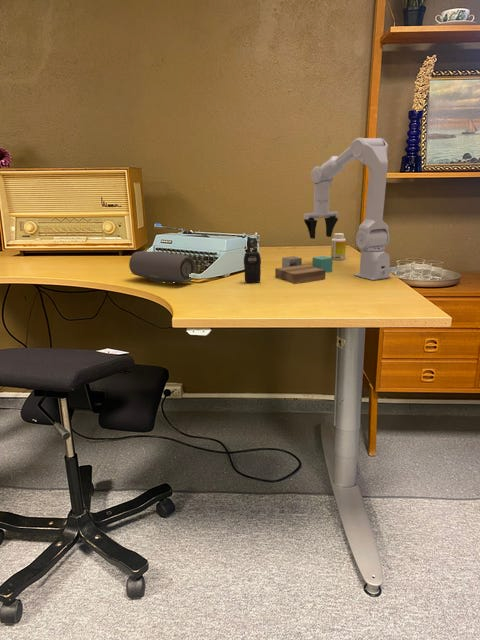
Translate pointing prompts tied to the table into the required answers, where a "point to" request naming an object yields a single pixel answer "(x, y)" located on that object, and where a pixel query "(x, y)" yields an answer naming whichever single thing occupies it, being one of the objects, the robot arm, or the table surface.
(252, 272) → the two-way radio
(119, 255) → the table surface
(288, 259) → the steel cube
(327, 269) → the teal cube
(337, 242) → the supplement bottle
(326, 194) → the robot arm
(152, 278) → the bluetooth speaker
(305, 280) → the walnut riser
